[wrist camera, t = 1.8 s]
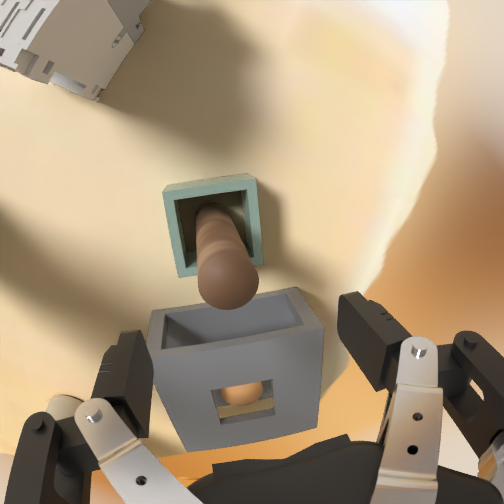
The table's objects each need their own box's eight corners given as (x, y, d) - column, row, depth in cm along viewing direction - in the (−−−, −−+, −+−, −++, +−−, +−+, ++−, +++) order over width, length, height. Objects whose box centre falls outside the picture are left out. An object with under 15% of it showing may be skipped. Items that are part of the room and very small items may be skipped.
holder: (180, 260, 30) (178, 278, 26) (166, 185, 27) (162, 192, 23) (255, 248, 31) (263, 264, 27) (247, 173, 28) (255, 178, 24)
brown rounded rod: (198, 236, 29) (203, 314, 16) (193, 204, 28) (193, 261, 15) (230, 231, 29) (261, 304, 17) (226, 199, 28) (255, 251, 15)
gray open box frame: (184, 405, 37) (187, 452, 30) (152, 310, 31) (143, 358, 24) (298, 385, 39) (316, 427, 32) (296, 286, 33) (324, 326, 26)
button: (222, 389, 32) (225, 408, 30) (215, 363, 31) (218, 382, 28) (259, 383, 33) (264, 401, 30) (255, 356, 31) (261, 374, 29)
